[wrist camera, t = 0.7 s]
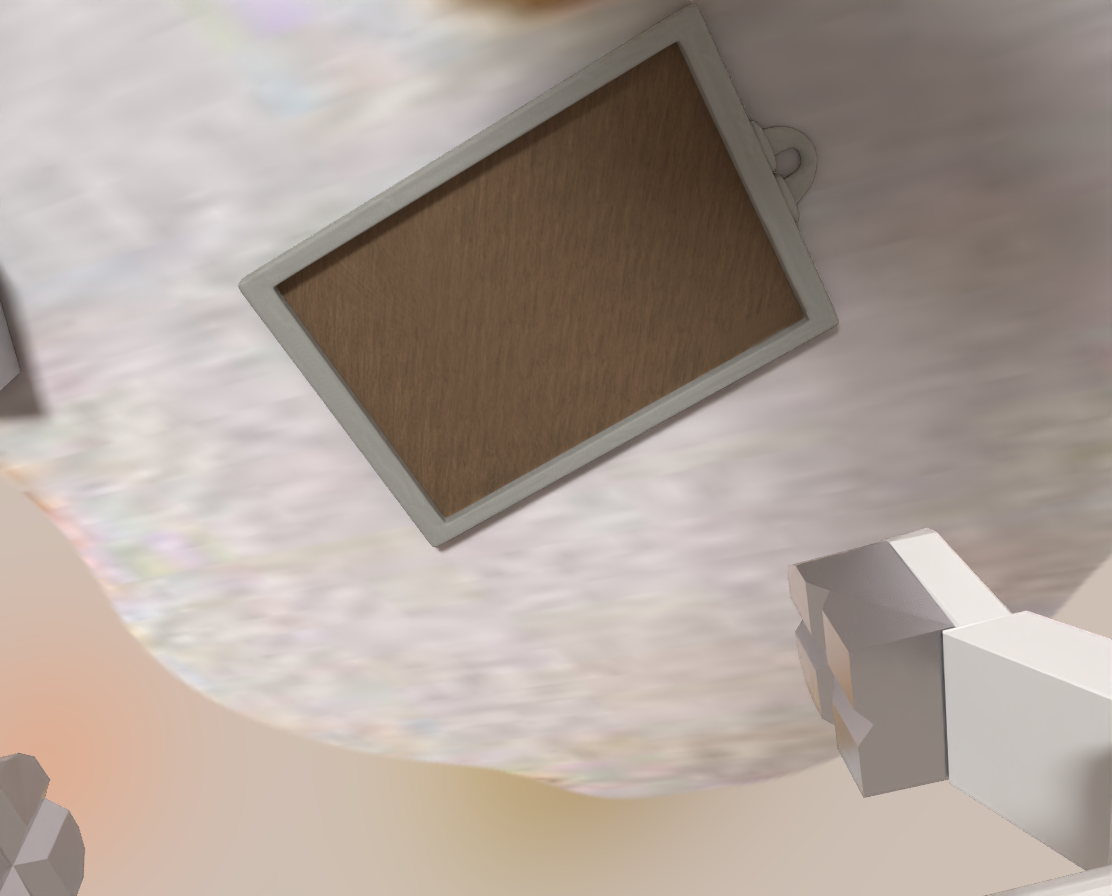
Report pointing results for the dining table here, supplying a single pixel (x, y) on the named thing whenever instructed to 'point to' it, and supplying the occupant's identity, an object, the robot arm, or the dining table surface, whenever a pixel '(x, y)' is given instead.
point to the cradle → (6, 354)
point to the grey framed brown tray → (554, 281)
